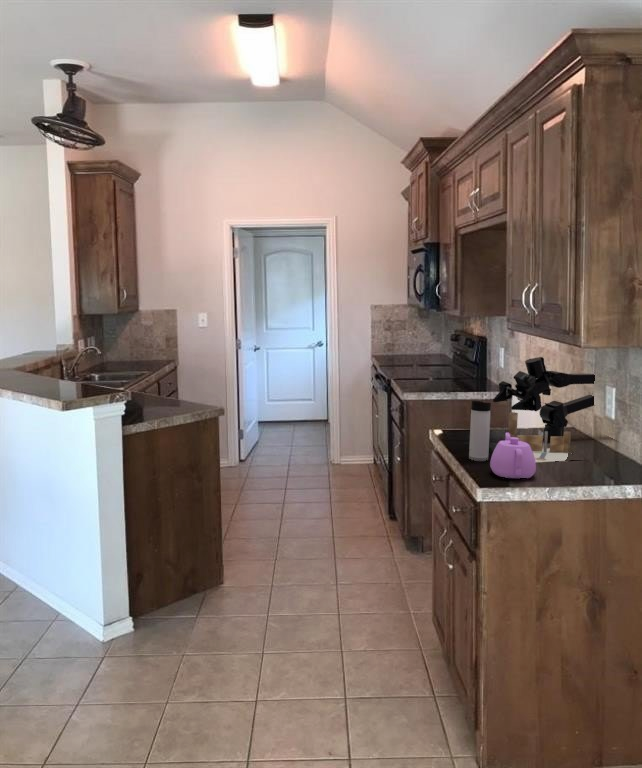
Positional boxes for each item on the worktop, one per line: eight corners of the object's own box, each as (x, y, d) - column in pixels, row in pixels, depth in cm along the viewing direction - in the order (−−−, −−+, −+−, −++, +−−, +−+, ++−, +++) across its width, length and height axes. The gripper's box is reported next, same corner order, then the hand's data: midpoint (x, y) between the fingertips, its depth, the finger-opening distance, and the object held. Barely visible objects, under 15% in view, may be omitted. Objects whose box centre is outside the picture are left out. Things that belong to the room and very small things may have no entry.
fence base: (566, 451, 253) (567, 430, 252) (570, 453, 250) (572, 432, 250) (543, 452, 251) (544, 431, 250) (547, 454, 248) (549, 433, 247)
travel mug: (464, 459, 239) (467, 399, 236) (475, 456, 244) (477, 397, 241) (481, 462, 235) (484, 402, 232) (491, 459, 239) (494, 400, 237)
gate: (540, 450, 252) (542, 412, 250) (543, 451, 249) (545, 413, 247) (506, 450, 251) (508, 412, 249) (509, 451, 248) (511, 413, 247)
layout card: (556, 448, 258) (556, 447, 258) (586, 460, 241) (586, 459, 241) (503, 450, 253) (503, 450, 253) (530, 462, 236) (530, 462, 236)
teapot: (542, 484, 210) (544, 444, 208) (495, 482, 210) (497, 443, 209) (525, 467, 230) (527, 431, 228) (483, 466, 230) (485, 430, 229)
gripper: (513, 362, 269) (482, 377, 263) (551, 375, 254) (519, 392, 248) (516, 388, 274) (485, 404, 267) (553, 403, 258) (521, 420, 252)
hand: (502, 404), depth 259 cm, fingers open, 9 cm apart
